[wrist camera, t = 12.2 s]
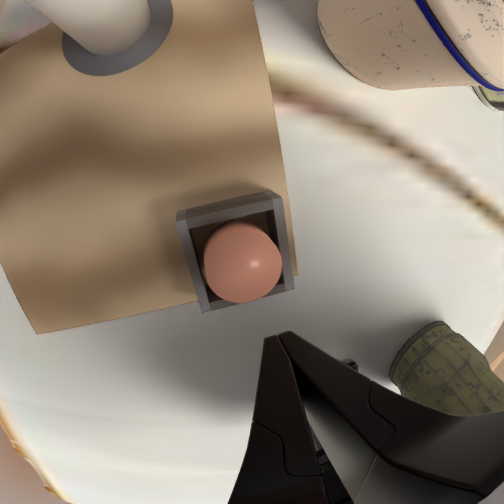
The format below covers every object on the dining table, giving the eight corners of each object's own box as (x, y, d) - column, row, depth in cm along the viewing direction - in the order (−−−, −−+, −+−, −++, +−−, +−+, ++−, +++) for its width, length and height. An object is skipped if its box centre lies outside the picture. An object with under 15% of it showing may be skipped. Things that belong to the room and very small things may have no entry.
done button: (275, 274, 16) (286, 292, 14) (211, 290, 16) (215, 310, 14) (265, 212, 15) (276, 223, 13) (195, 229, 14) (196, 242, 12)
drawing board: (296, 272, 18) (309, 290, 16) (38, 332, 16) (27, 351, 14) (241, -36, 10) (249, -56, 8) (-33, 67, 8) (-52, 63, 6)
